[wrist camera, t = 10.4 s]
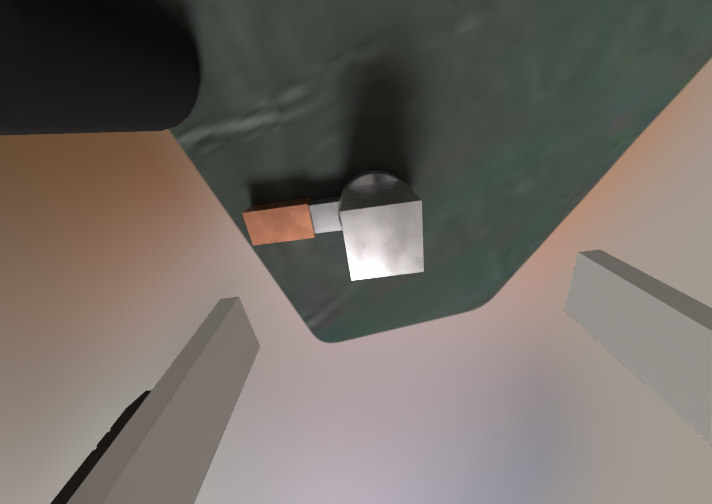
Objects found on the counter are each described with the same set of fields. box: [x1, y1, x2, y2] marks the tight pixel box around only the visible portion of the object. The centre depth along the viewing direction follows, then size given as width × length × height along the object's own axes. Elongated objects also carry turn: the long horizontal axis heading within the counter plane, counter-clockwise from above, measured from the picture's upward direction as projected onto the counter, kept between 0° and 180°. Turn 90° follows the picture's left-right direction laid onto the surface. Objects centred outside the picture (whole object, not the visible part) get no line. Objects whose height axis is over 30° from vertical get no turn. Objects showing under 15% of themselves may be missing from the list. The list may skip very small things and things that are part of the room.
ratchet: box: [242, 169, 399, 245], centre depth 27 cm, size 18×8×7 cm, turn 98°
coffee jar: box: [0, 0, 199, 135], centre depth 16 cm, size 11×11×18 cm
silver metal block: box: [340, 180, 424, 281], centre depth 24 cm, size 6×6×8 cm
